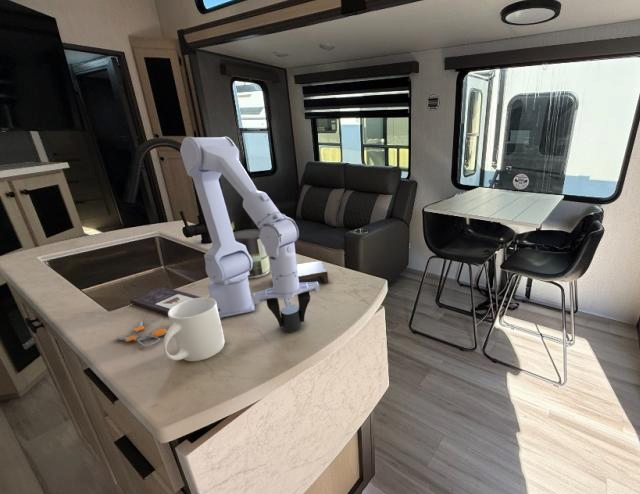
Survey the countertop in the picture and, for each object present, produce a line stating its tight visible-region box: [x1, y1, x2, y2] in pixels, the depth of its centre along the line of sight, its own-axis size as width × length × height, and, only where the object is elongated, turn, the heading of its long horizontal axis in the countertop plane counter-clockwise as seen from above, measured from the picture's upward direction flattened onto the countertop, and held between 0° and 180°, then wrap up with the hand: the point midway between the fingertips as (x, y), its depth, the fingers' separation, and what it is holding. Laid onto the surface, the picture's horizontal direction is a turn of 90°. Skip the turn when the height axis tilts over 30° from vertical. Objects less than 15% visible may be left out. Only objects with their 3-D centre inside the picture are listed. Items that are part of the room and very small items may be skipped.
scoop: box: [280, 298, 302, 333], centre depth 79 cm, size 9×4×5 cm, turn 25°
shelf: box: [297, 260, 329, 284], centre depth 102 cm, size 16×10×4 cm, turn 116°
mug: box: [162, 297, 226, 362], centre depth 66 cm, size 9×12×11 cm
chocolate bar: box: [129, 286, 203, 316], centre depth 89 cm, size 9×1×18 cm
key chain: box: [116, 320, 168, 348], centre depth 75 cm, size 13×7×1 cm, turn 66°
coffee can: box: [233, 228, 271, 280], centre depth 107 cm, size 10×10×14 cm
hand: (291, 322), depth 78 cm, fingers closed on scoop, 4 cm apart
